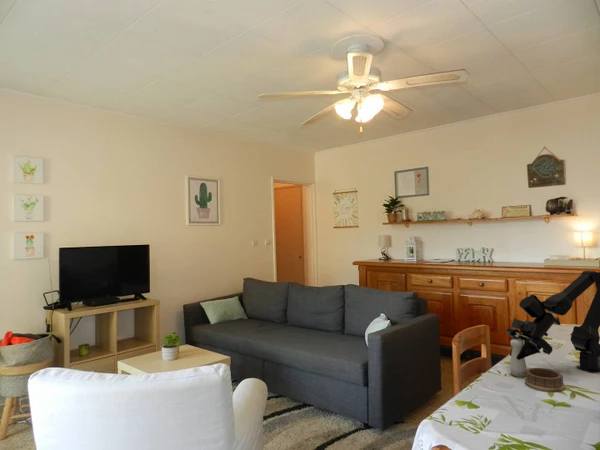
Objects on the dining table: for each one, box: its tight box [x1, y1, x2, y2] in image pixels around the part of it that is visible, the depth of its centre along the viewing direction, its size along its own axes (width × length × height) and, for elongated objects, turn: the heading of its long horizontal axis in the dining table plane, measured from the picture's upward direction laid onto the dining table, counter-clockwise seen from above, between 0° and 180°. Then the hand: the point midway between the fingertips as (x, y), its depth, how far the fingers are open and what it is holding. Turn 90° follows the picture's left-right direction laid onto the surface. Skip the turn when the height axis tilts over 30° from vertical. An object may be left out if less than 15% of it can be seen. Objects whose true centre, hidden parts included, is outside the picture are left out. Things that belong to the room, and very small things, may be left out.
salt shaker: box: [508, 338, 528, 378], centre depth 147 cm, size 6×6×13 cm
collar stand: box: [524, 367, 566, 393], centre depth 136 cm, size 12×12×4 cm
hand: (514, 357), depth 147 cm, fingers closed on salt shaker, 3 cm apart
